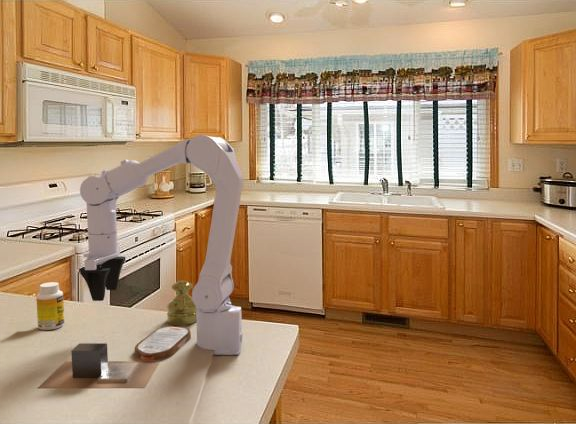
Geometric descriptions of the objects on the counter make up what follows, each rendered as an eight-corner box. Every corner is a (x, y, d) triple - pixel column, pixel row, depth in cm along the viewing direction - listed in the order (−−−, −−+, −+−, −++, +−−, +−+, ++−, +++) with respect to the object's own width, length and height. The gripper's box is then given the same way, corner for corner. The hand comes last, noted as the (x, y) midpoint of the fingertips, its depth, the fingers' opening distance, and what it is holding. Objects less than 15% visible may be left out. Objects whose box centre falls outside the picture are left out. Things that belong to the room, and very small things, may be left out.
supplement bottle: (61, 330, 105) (58, 287, 104) (34, 331, 104) (32, 288, 103) (67, 321, 111) (65, 280, 109) (42, 323, 109) (39, 281, 108)
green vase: (200, 324, 110) (199, 283, 108) (168, 327, 107) (167, 286, 106) (195, 314, 116) (194, 276, 115) (165, 317, 114) (164, 278, 113)
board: (160, 367, 87) (160, 361, 87) (145, 394, 77) (144, 387, 77) (65, 367, 87) (65, 361, 86) (37, 394, 77) (37, 388, 77)
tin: (125, 364, 88) (166, 371, 87) (126, 348, 88) (166, 355, 86) (162, 334, 103) (197, 340, 101) (162, 321, 102) (197, 326, 101)
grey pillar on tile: (138, 365, 85) (137, 340, 84) (127, 381, 79) (126, 354, 78) (83, 366, 85) (82, 340, 84) (69, 382, 79) (67, 354, 78)
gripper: (97, 227, 104) (99, 285, 105) (67, 238, 89) (71, 305, 91) (128, 227, 104) (130, 285, 106) (103, 238, 90) (106, 305, 91)
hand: (105, 294), depth 98 cm, fingers open, 7 cm apart
